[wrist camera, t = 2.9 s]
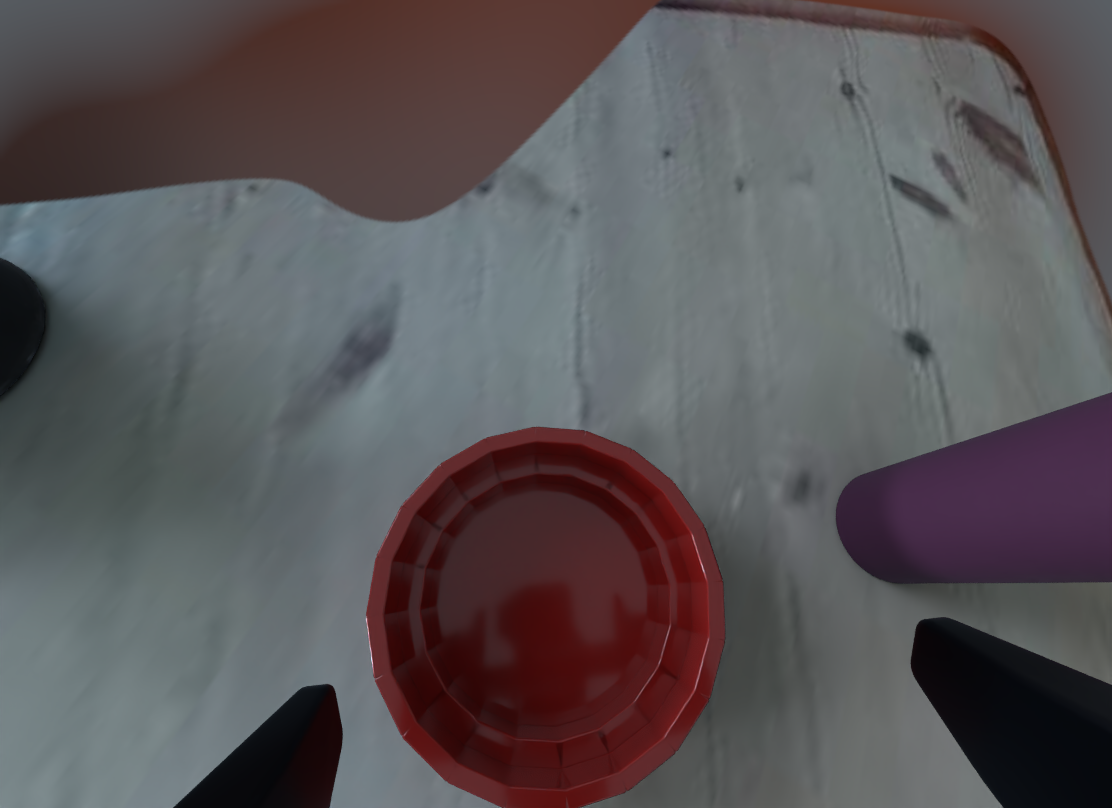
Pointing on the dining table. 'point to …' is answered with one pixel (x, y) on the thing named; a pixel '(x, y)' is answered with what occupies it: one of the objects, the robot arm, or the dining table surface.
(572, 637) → the bowl
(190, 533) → the dining table surface
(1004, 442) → the canister
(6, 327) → the milk frother
